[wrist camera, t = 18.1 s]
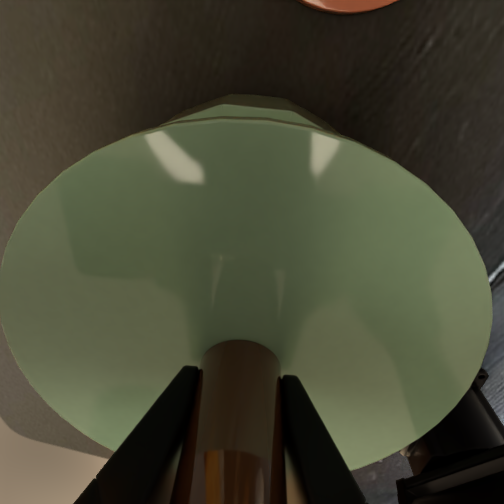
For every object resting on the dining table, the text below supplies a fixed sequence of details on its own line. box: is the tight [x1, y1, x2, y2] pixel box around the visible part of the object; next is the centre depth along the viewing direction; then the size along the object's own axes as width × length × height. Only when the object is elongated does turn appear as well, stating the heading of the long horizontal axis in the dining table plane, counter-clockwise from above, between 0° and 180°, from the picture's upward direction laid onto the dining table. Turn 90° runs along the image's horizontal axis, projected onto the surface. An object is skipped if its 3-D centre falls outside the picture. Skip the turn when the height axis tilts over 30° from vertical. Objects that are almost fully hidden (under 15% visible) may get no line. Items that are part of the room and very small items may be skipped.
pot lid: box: [0, 116, 493, 504], centre depth 8 cm, size 14×14×6 cm
